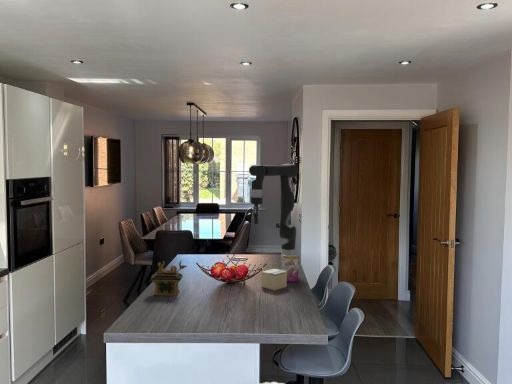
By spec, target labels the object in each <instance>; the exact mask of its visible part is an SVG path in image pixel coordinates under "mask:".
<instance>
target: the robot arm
mask: <svg viewBox="0 0 512 384" xmlns="http://www.w3.org/2000/svg"><path fill="white" fill-rule="evenodd" d="M248 173H249V174H250V175H251V176H253V177H255V179H252V180H251V182H250V184H251V185H250V186H251V187H250V189H251V190H250V204H251V205H253V207H252V210H253V219H254V221H253V222H254V225H258V224H259V216H260V215H259V214H260V209H261V206H260V205H263V201H264V200H263V196H264V195H263V182H264V179H265V177H275V176H277V177H278V176H280V177H279V178H280V219H279V229H278V230H279V238H281V239H286V240H288V241H287V242H286V243H282V244H281V249H280V250H281V251H280V253H281V254H280V265H281V264H282V255H296V251H295V250H296V239H297V228H296V226H295V225H290V224H289V225H287V220H288V217H289V216H290V215H291V213H292V211H293V210H294V208H295V195H294V193H293V190H292V188H291V186H290V182H289V178H295V177H297V175H298V173H299V168H298V165H296V164H294V163H283V164H281V165H274V164H273V165H272V164H263V165H262V164H251V166H249V169H248Z"/></svg>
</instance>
